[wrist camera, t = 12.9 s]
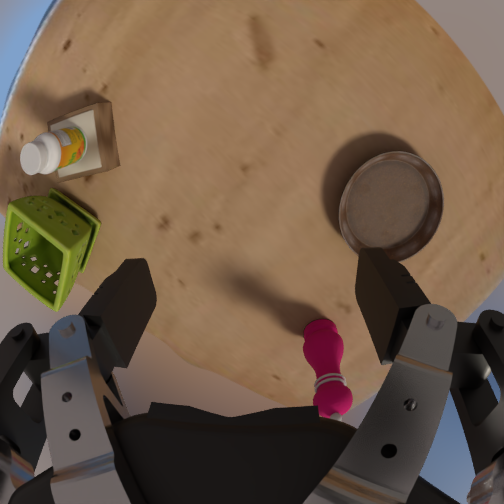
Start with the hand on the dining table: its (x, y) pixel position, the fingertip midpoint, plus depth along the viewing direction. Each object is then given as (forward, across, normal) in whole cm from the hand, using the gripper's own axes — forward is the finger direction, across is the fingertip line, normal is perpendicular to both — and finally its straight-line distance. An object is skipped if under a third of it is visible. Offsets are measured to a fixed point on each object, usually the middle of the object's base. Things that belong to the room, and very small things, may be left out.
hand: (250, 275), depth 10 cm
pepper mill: (+30, -9, +32) cm, 45 cm away
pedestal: (+30, +26, -6) cm, 40 cm away
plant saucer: (+31, -19, +8) cm, 37 cm away
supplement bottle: (+26, +26, -6) cm, 37 cm away
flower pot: (+30, +34, +8) cm, 46 cm away
